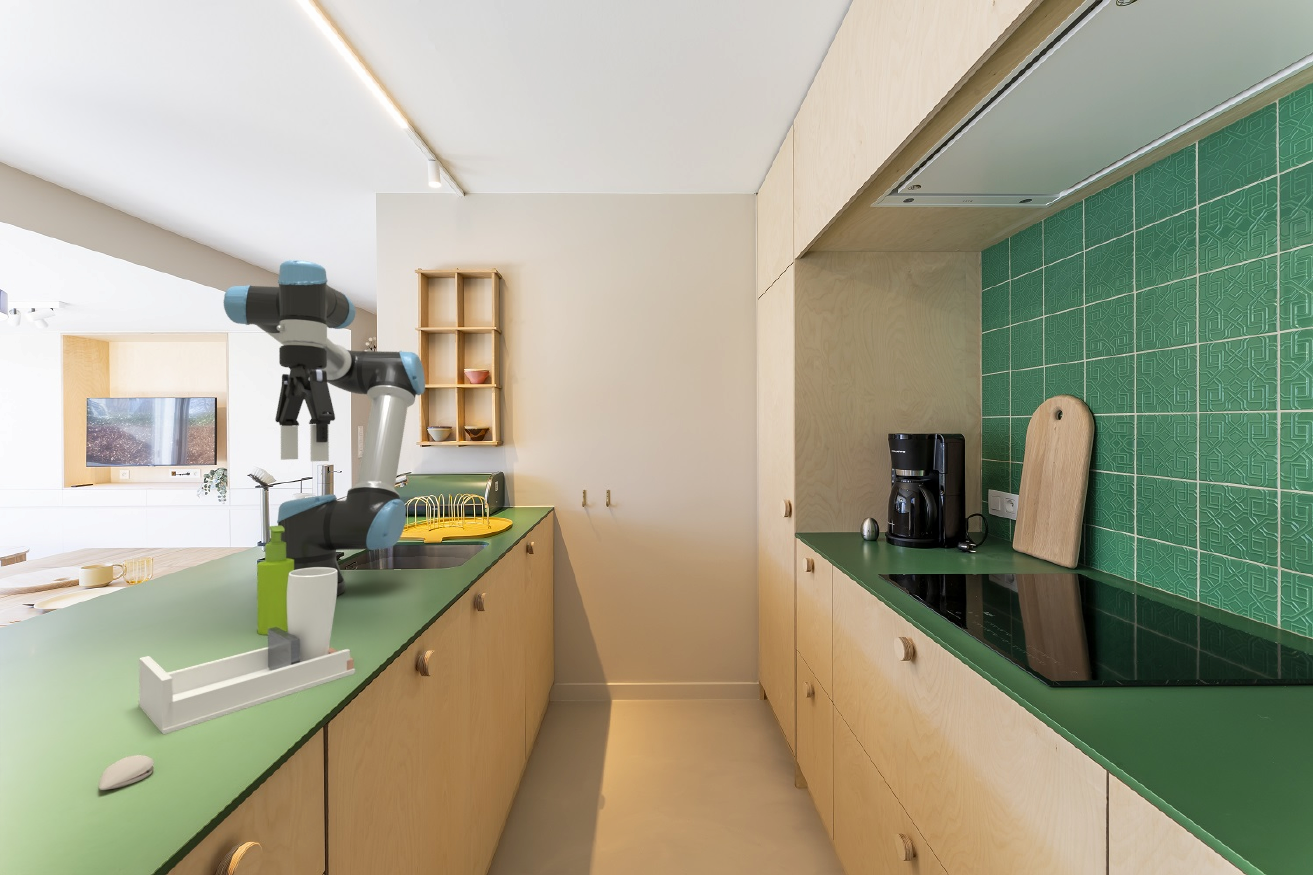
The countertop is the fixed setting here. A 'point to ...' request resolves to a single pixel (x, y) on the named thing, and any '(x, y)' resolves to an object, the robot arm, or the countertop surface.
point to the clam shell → (126, 772)
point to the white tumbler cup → (311, 609)
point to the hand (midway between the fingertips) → (304, 460)
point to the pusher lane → (228, 685)
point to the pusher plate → (282, 648)
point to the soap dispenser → (273, 584)
